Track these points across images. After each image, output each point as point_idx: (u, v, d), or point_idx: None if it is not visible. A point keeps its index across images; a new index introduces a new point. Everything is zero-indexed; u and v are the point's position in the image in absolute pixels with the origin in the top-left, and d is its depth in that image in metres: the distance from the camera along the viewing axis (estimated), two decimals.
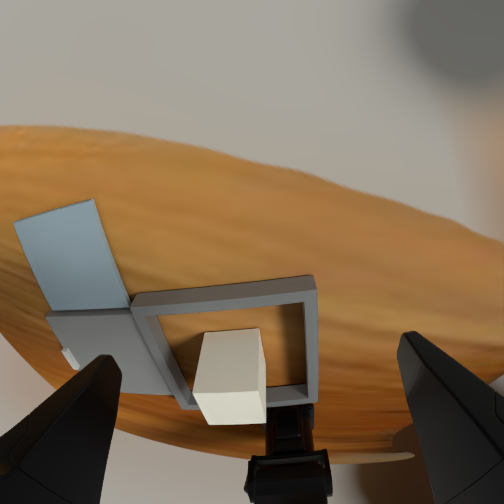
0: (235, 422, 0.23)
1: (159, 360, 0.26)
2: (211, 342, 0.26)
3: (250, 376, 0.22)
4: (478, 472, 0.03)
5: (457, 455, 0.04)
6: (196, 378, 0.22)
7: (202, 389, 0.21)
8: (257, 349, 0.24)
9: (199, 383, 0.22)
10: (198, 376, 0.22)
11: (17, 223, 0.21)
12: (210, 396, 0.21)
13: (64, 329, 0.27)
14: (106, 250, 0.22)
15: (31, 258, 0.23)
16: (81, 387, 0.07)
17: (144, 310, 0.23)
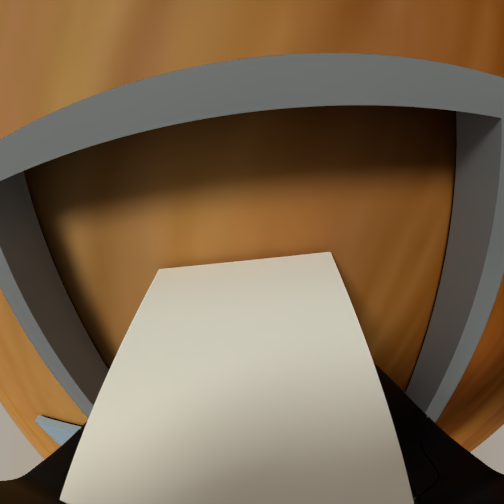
0: None
1: None
2: None
3: None
4: None
5: None
6: None
7: None
8: (130, 331, 0.06)
9: None
10: None
11: None
12: None
13: None
14: None
15: None
16: None
17: None
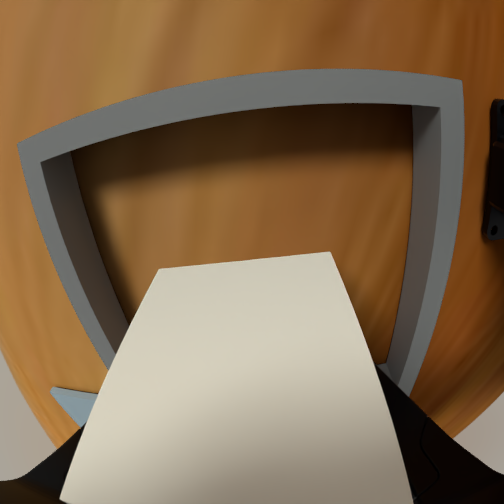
0: None
1: None
2: None
3: None
4: None
5: None
6: None
7: None
8: (130, 331, 0.06)
9: None
10: None
11: None
12: None
13: None
14: (91, 400, 0.17)
15: None
16: None
17: None
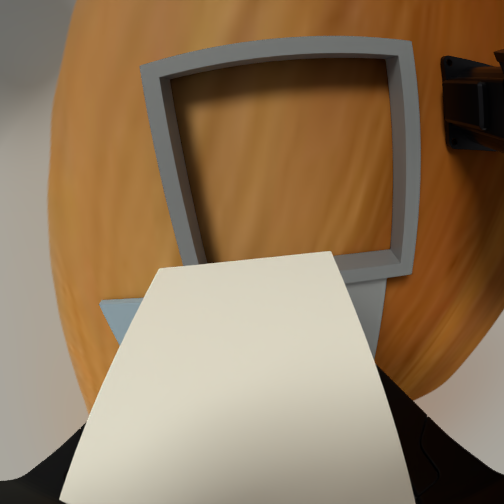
0: None
1: None
2: None
3: None
4: None
5: None
6: None
7: None
8: (130, 330, 0.06)
9: None
10: None
11: None
12: None
13: None
14: None
15: None
16: None
17: None
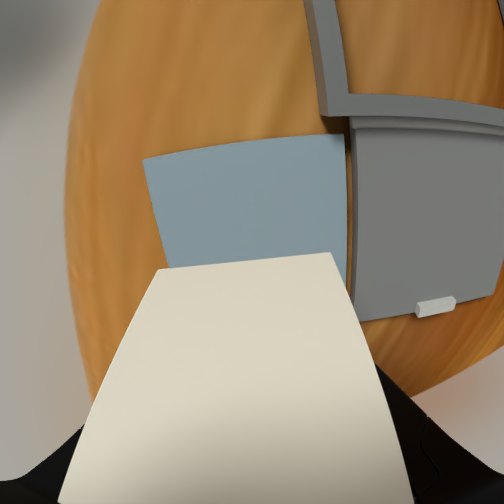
0: None
1: (450, 110, 0.11)
2: None
3: None
4: None
5: None
6: None
7: None
8: None
9: None
10: None
11: None
12: None
13: (381, 293, 0.17)
14: (225, 146, 0.14)
15: None
16: None
17: (335, 88, 0.11)
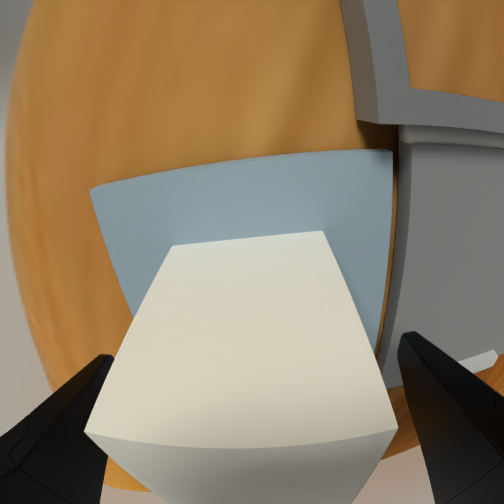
0: (352, 482, 0.05)
1: None
2: None
3: None
4: (478, 472, 0.03)
5: (457, 454, 0.04)
6: None
7: None
8: None
9: None
10: None
11: None
12: (177, 499, 0.05)
13: None
14: (208, 168, 0.09)
15: None
16: (81, 387, 0.07)
17: (389, 77, 0.06)
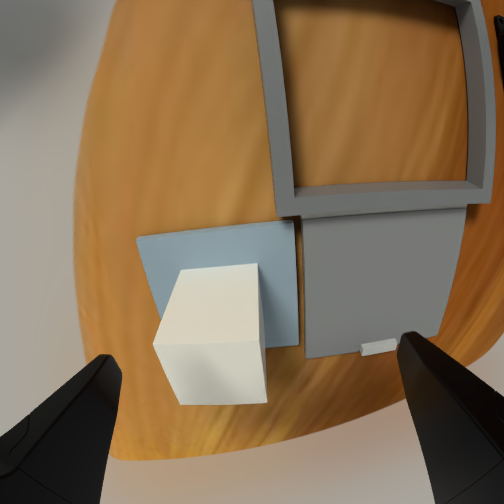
0: (257, 376, 0.14)
1: (388, 200, 0.16)
2: None
3: None
4: (478, 472, 0.03)
5: (457, 455, 0.04)
6: None
7: None
8: (172, 294, 0.17)
9: None
10: None
11: None
12: (182, 391, 0.15)
13: (328, 338, 0.22)
14: (199, 233, 0.18)
15: None
16: (81, 387, 0.07)
17: (283, 194, 0.16)
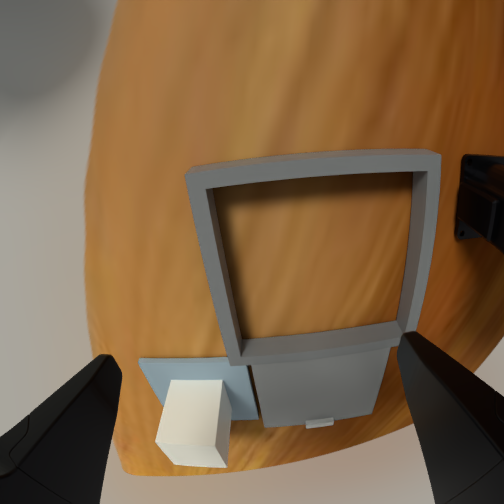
0: (217, 457, 0.21)
1: (312, 355, 0.22)
2: None
3: None
4: (478, 472, 0.03)
5: (456, 455, 0.04)
6: None
7: None
8: (165, 402, 0.24)
9: None
10: None
11: None
12: (175, 459, 0.22)
13: (279, 417, 0.28)
14: (180, 363, 0.25)
15: None
16: (81, 387, 0.07)
17: (232, 355, 0.22)
